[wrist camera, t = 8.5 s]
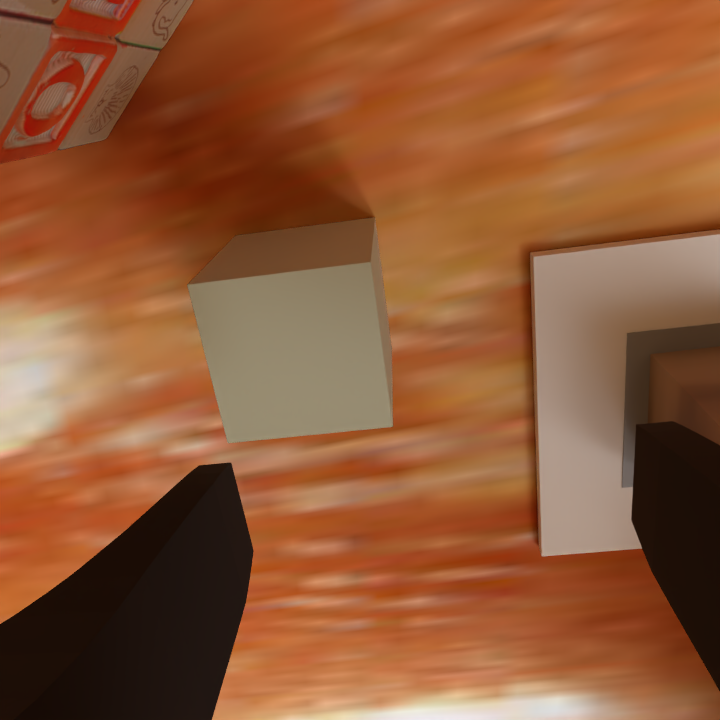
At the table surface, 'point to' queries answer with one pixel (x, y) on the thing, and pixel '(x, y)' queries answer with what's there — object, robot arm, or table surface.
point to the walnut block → (686, 390)
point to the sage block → (297, 331)
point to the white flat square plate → (608, 371)
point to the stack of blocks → (74, 67)
